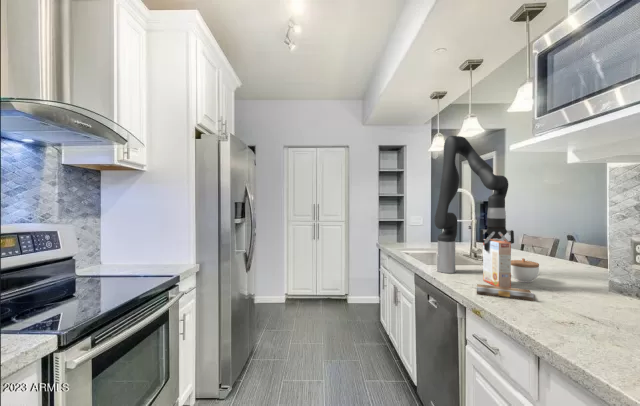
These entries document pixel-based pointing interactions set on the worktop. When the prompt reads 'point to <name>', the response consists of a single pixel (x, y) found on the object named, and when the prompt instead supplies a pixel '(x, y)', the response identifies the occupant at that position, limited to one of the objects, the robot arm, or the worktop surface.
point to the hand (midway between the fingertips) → (496, 251)
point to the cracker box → (497, 263)
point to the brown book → (505, 292)
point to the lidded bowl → (524, 270)
